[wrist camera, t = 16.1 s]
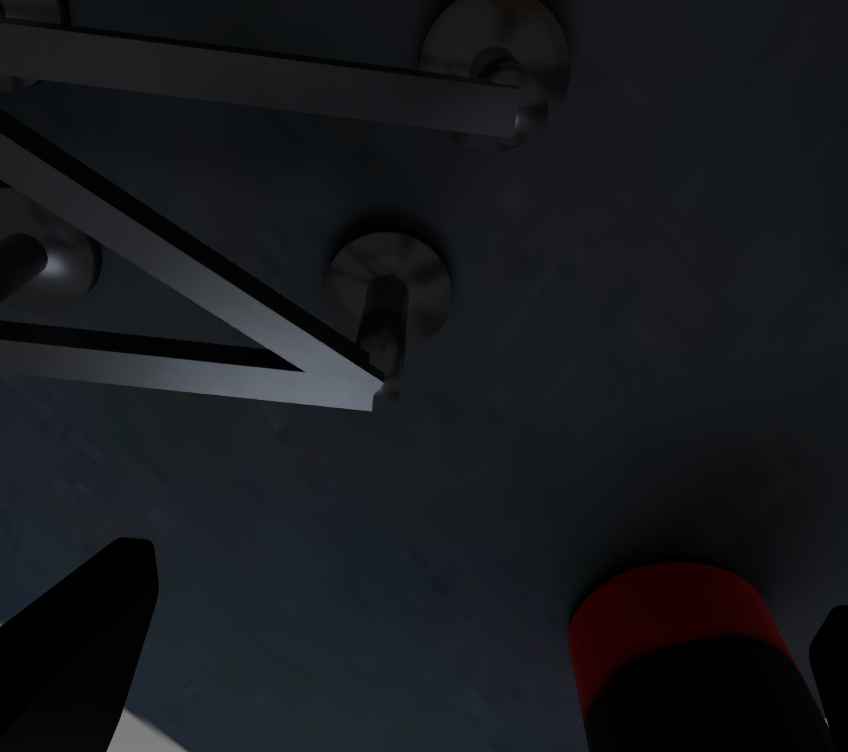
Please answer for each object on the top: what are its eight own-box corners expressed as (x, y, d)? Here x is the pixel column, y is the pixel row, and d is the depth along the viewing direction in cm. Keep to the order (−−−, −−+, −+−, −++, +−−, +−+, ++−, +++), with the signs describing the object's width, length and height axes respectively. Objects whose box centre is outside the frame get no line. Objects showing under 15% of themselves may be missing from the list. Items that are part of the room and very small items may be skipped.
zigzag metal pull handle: (581, -3, 16) (649, 9, 11) (507, 355, 21) (531, 478, 16) (-107, -96, 15) (-378, -129, 10) (-16, 297, 20) (-168, 407, 15)
